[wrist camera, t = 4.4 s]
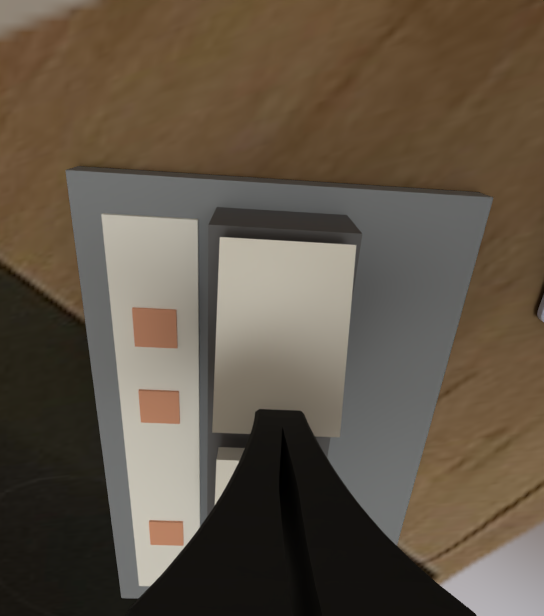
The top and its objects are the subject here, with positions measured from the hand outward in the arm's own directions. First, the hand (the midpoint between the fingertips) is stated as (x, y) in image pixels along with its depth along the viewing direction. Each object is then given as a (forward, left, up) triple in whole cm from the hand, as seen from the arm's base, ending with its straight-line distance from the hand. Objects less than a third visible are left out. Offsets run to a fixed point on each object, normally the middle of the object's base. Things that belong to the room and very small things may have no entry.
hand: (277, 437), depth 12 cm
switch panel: (0, +6, -8) cm, 10 cm away
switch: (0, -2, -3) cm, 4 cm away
